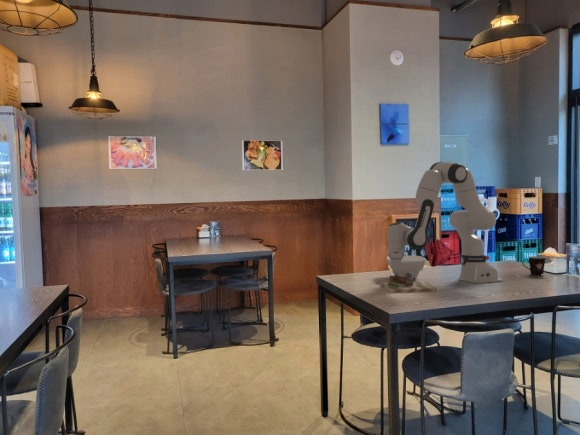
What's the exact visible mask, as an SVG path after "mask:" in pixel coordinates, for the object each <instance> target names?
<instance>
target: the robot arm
mask: <svg viewBox="0 0 580 435" xmlns="http://www.w3.org/2000/svg"><path fill="white" fill-rule="evenodd" d="M444 183H445V184H452V186H453V191H454V196H455V199H456V203H457V204H458V205H459V206H460V207H462V208H464V209H460V210H455V211H452V212H451V214H450V217H449V224H450V226H451V227H452V228H453V229H455V230H456V232H457V234H458V236H459V238H460V241H461V242H460V243H461V255H460V265H461V267H460V274H459V277H458V279H459V280H460V281H462V282H469V283H476V284H477V283H478V284H480V283H482V284H483V283H494V282H495V283H496V282H503V278H502V277H500V276H499V272H498V269H497V268H496V267H495V266H493V265H492V264H490V262H487V261H489V260H491V259H490V258H491V257H490V255H485V254H484V241H483V240H482V239H481V238H480V237H479V236H478V235H477V234H476V232H475V231H488V230H492V229H494V227H495V226H496V223H497V218H496V215H495V214H494V212H493V211H491V210H489V209H488V208H487V207H485V205H484V204H483V202H481V199H480V197H479V194H478V191H477V188H476V184H475V180H474V177H473V174H472V172H471V170H470V169H469V168H466V166H465V165H463V164H462V163H460V162H451V161H443V162H442V161H437V162H434V163H433V164H431V166H430V167H429V169H428V170H426V171H425V172H424V173H423V175H422V177H421V179H420V181H419V184H418V187H417V189H416V192H415V193H416V194H415V198H414V199H415V202H416V204H417V206H418V215H417V218H416V222H415V225H414V228H413V227H412V226H408V225H407V224H404V223H403V222H401V221H399V222H392V223H390V224H389V225H388V227H387V234H386V236H387V239H386V240H387V249H386V250H387V252H386V253H387V257H389V258H390V260H391V264H392V269H391V271H392V273H393V274H394V275H393V276H398V273H400V268H401V260H402V258H403V257H404V256H406V255H405V254H406V253H405V248H406V247H405V246H408V247H410V248H411V249H413V250H418V251H419V250H422V249H424V248H426V246H427V244H428V242H429V236H428V234H429V233H428V231H429V227H430V223H431V220H432V215H433V212H434V209H435V205H436V202H437V199H438V198H439V194H440V190H441V187H442V185H444Z"/></svg>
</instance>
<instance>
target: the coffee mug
mask: <svg viewBox="0 0 580 435" xmlns="http://www.w3.org/2000/svg"><path fill="white" fill-rule="evenodd" d="M526 261H527V262H528V263H529V267H528V266H526V265H525V264H524V262H526ZM545 262H546V257H545V256H528V259H524V260H522V266H523V267H525V268H526V269H527V270H529V271H530V275H531V274H534V275H533V276H538V275H540V276H542V275H541V274H543V275H544V270H545Z"/></svg>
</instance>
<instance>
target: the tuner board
mask: <svg viewBox="0 0 580 435" xmlns="http://www.w3.org/2000/svg"><path fill="white" fill-rule="evenodd" d="M380 285H381V287H383V289H384V290H386V291H387V292H388V293H390V294H391V293H393V294H394V293H420V292H421V293H423V292H426V293H427V292H429V293H430V292H437V291H438V288H437V287H436V286H433V285H432V284H430V283H429V282H427V281H413V285H406V284H398V283H392V282H390V281H388V282H381V284H380Z"/></svg>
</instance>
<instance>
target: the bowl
mask: <svg viewBox="0 0 580 435" xmlns="http://www.w3.org/2000/svg"><path fill="white" fill-rule="evenodd" d="M386 262H387V264H388V267H389V269H390V270H392V264H391V260H390V258H389V257H388V256H386ZM426 263H427V258H425V257H424V256H420V255H405V256H404V257H403V258H402V260H401V268H400V273H398V276H405V273H407V272H411V273H413V279H417V278H418V276H419V274H420V272H421V271H423V270H424V269H423V268H424V266H425V264H426Z"/></svg>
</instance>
